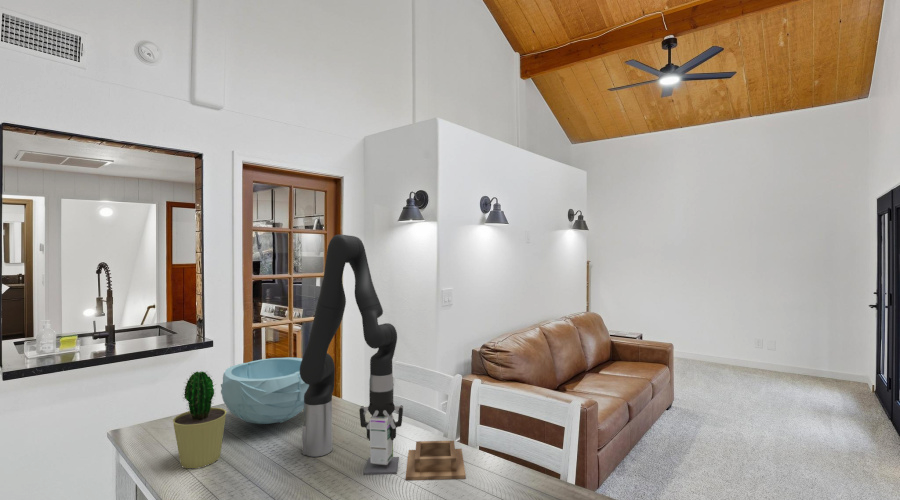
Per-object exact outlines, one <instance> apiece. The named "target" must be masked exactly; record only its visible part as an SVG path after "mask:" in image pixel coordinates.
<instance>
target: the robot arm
mask: <svg viewBox="0 0 900 500" xmlns="http://www.w3.org/2000/svg"><path fill="white" fill-rule="evenodd" d="M346 264H349V265H350V268H351V269H352V272H353V275H354V298H355V304H356V305H357V308H358V310H359V313H360V315H361V322H362V329H363V330H362V333H363V338H364V341H365V343H366V345H367V346H368V347H370V349H375V350H376V349H377V352H375V353H374V354H373V355H372V356H371V357H370V359H369V367H370V368H369V369H370V370H369V371H370V372H369V381H368V382H369V383H368V385H369V394H368V395H369V404H368V406H364V405H361V406H360V408H359V409H358V410H359V411H358V413H359V422H360V427H361V428H365V429H366V438H367V440H368V441H369V442H370V419H369V421H368V422H367V421H366V414H367V412H369V413H370V415H371V417H372V418H374V417H377V416H385V417H388V422H389V423H390V425H391V427H392V428H391V440H393V441H394V439H396V438H397V428H398V427H402V423H403V414H404V405H399V406H398V405H395V404H394V386H395V385H394V375H393V359H394V355H395V350H396V347H397V343H398V332H397V329H396V327H395V326H394V325H393V324H392V323H385V322H384V323H382V324H379V322H378V321H379V320H378V319H379V318H380V317H382V316H383V314H384V310H383V307H382V305H381V302H380V299H379V296H378V295H377V292H376V289H375V286H374V282H373V278H372V275H371V271H370V267H369V262H368V257H367V253H366V249H365V245H364V243H363V241H362V240H361V238H359V237H357V236H354V235H348V234H335V235H333V236H332V237H331V239H330V241H329V243H328V245H327V250H326V258H325V264H324V265H325V266H324V271H323V277H322V282H321V287H320V293H319V295H318V299H317V303H316V306H315V307H316V308H315V311H314V317H313V321H312V326H311V329H310V333H309V338H308V341H307V344H306V348H305V351H304V353H303V356H302V361H301V365H300V377H301V379H302V380H303V382H305V383H306V384H309V387H308V389H307V391H306V392H305V394H304V408H303V422H304V423H303V425H302V430H301V431H302V434H301V437H302V455H303V456H307V457H315V458H317V457H322V456H325V455H328V454H330V453H331V452H332V451H333V393H334V391H335V375H336V373H335V372H336V371H335V370H336V369H335V368H336V367H335V362H334V359H333V357H332V356H331V355H330V354H329V353H328V350H329V347H330V344H331V342H332V341H333V338H334V337H335V335H336V333H337V331H338V329H339V328H340V325H341V323H342V320H343V318H344V313H345V308H346V305H347V299H346V298H347V297H346V293H345V290H344V289H345V288H344V285H343V274H344V270H345V266H346ZM394 411H396V412H395V413H396V414H398V415H397V421H396V420H395V418H394V416H393V413H394ZM390 416H391V417H390Z"/></svg>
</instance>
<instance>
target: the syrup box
mask: <svg viewBox="0 0 900 500" xmlns="http://www.w3.org/2000/svg"><path fill="white" fill-rule="evenodd" d="M390 417H391V416H390ZM369 420H370V441H369V451H370V454H369V455H370V456H369V457H370V462H371V463H373V464H381V465H387V464H388V463H389V462H390V460H391V459H392V457H394V440H391V428H392V427H391V425H390V423H389V422H388V417H385V416H377V417H374V418H372V416H371V417H370V418H369Z"/></svg>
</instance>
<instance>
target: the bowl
mask: <svg viewBox="0 0 900 500" xmlns="http://www.w3.org/2000/svg"><path fill="white" fill-rule="evenodd" d="M302 359H303V357H291V356H290V357H270V358H263V359H258V360H257V359H256V360H253V361H248V362H243V363H238V364H234V365H232V366H230V367H227V368H226V369H225V371H224V372H223V375H222V383H221V384H220V388H221V389H220V394H221V397H222V400H223V402H224V405H226V408H227V410H229V412H230V413H232V414H233V415H234V416H235V417H237V418H238V419H241V420H242V421H244V422H246V423H251V424H256V425H265V424H266V425H269V424H277V423H281V424H282V423H284V422H287V421H288V420H290V419H292V418H293V417H296V416H297V415H298V414H300V413H301V412H302V411H304V394H305V392H306V391H307V389H308V387H309V384H306V383H305V382H303V380H302V379H301V377H300V365H301V361H302Z"/></svg>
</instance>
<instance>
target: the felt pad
mask: <svg viewBox="0 0 900 500" xmlns="http://www.w3.org/2000/svg"><path fill="white" fill-rule="evenodd" d="M399 460H400V457H399V456H393V457H392V459H391V460H390V462H389V463H388V464H387V465H381V464H373V463H371V462H370V456H369V457H368V458H367V461H366V465H365V468H364V471H363V475H397V473H398V467H399V462H400V461H399Z"/></svg>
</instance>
